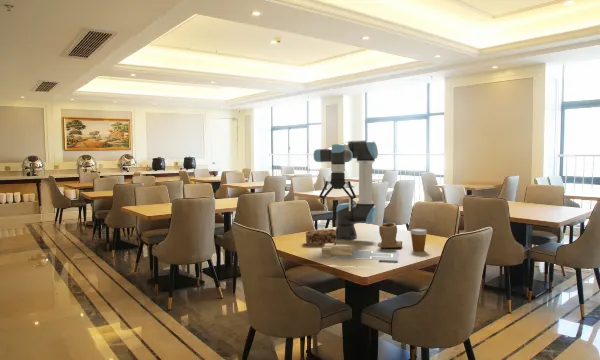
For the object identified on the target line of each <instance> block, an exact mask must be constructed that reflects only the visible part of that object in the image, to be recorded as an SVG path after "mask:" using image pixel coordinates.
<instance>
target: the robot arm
mask: <svg viewBox="0 0 600 360" xmlns="http://www.w3.org/2000/svg"><path fill="white" fill-rule="evenodd" d="M378 157H379V152H378V146H377V143H376V142H375V141H374V140H368V139H366V140H349V141H345V142H342V143H335V144H334V143H333V144H332V145H331V146H330V147H327V148H318V149H317V148H316V149H314V151H313V160H314V161H315V162H317V163H330V168H331V169H330V171H331V173H330V180H329V181H328V180H326V181H324V182H325V183H324V186H323V188H322V190H321V192H320V194H319V197H318V198H320V199H322V205H324V206H323V207H324V209H323V210H324V211H325V212H326V211H327V210H326V209H327V198H326V197H327V196H328V195H329V194H330V192H331V191H333V189H334V190H343V191H344V193H346V195H347V196H348V198H349V200H348V202H343V203H339V204H337V206H336V228H335V229H334V230H335V231H336V240H337V239H338V240H354V239H357V237H358V235H357V230H356V228H355V224H356V223H357V224H373V223H374V222H375V221H376V219H377V215H378V207H377V206H376V205H375V202H374V201H373V164H374V162H375V160H376V159H377V158H378ZM353 159H356V162H357V163H358V200H357V201H356V204H355V202H354V201H353V200H354V199H355V198H357V195H356V193H355V191H354V189H353V187H352V185H351V181H350V180H348V181H346V177H345V176H346V175H345V171H346V168H345V167H346V163H349V162H351V161H352V160H353ZM328 185H330V186H331V187H330V188H329V189H328V190H327V191H326V192H325V190H326V189H327V186H328ZM345 185H347V186H348V188H349V190H350V192H351V193H350V192H349V191H348V189H346V188H345ZM324 192H325V194H324ZM323 194H324V195H323Z"/></svg>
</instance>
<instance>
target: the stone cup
mask: <svg viewBox="0 0 600 360" xmlns="http://www.w3.org/2000/svg"><path fill="white" fill-rule="evenodd" d="M378 230H379V231H378V233H379V236H380V239H381V242H378V243H377V246H378V247H379V248H383V249H384V248H385V249H387V248H388V249H393V248H394V249H396V248H400V249H401V248H402V246H403V241H402V240H397V233H398V226H397V225H396V223H395V222H385V223H383V222H382V223H381V224H380V225H379V227H378Z"/></svg>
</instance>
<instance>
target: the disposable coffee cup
mask: <svg viewBox="0 0 600 360" xmlns="http://www.w3.org/2000/svg"><path fill="white" fill-rule="evenodd" d="M409 232H410V237H411V243H412V244H411V245H412V251H414V252H424V251H425V247H426V242H427V240H426V239H427V234H428V231H427V229H425V228H412V229H410V231H409Z"/></svg>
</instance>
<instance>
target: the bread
mask: <svg viewBox="0 0 600 360" xmlns="http://www.w3.org/2000/svg"><path fill="white" fill-rule="evenodd" d="M335 230H336V229H333V228H326V229H313V230H307V231H306V232H305V241H306V247H307V246H311V247H312V246H324V245H325V244H326V243H335V245H336V246H337V238H336V231H335Z"/></svg>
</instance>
